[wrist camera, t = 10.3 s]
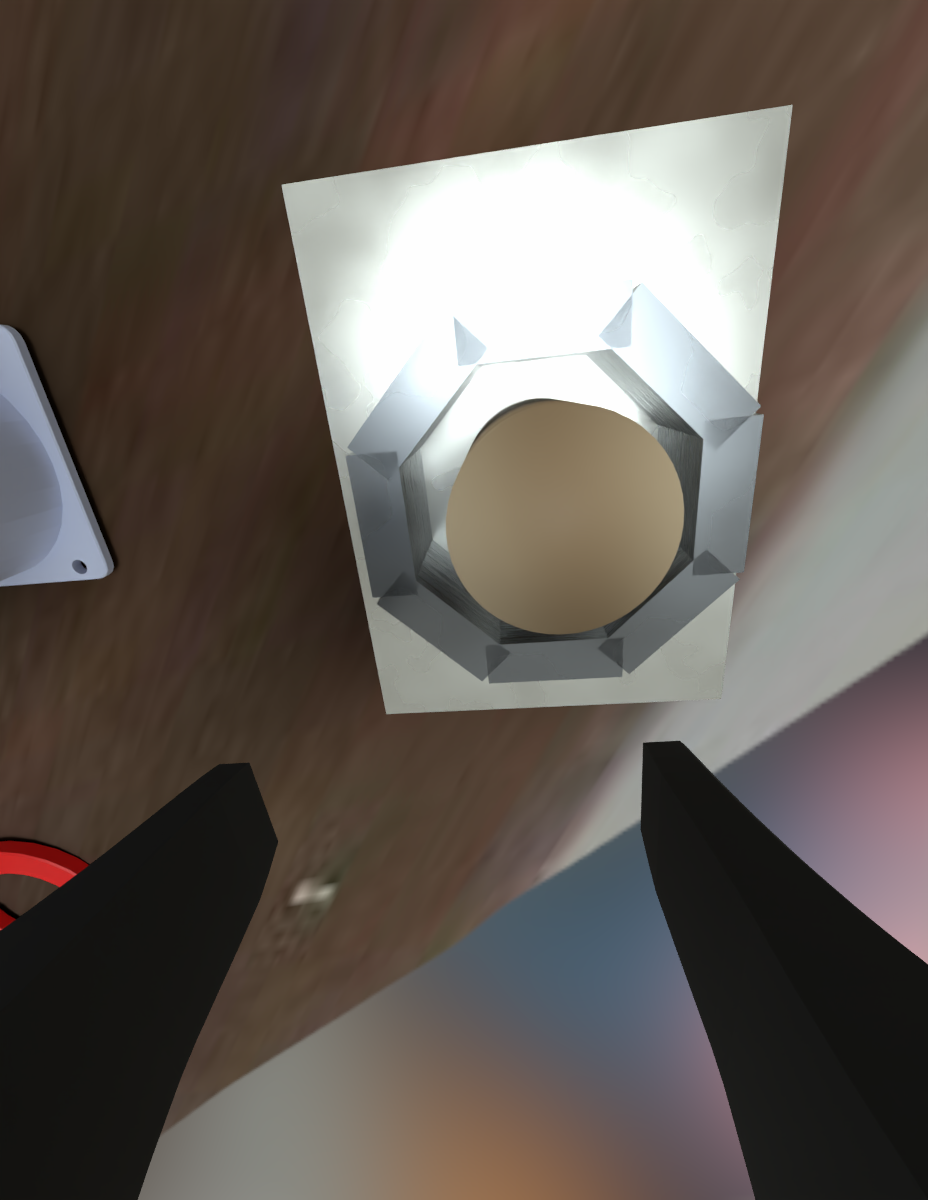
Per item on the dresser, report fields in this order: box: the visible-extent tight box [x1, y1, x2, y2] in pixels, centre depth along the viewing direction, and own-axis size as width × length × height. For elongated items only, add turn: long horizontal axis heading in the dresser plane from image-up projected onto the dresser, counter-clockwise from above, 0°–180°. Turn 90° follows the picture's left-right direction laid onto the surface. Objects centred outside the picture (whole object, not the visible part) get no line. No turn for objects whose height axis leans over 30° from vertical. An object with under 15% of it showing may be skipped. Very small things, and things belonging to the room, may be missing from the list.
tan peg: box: [446, 398, 684, 634], centre depth 12 cm, size 4×4×6 cm
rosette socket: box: [282, 105, 792, 714], centre depth 14 cm, size 12×16×4 cm
